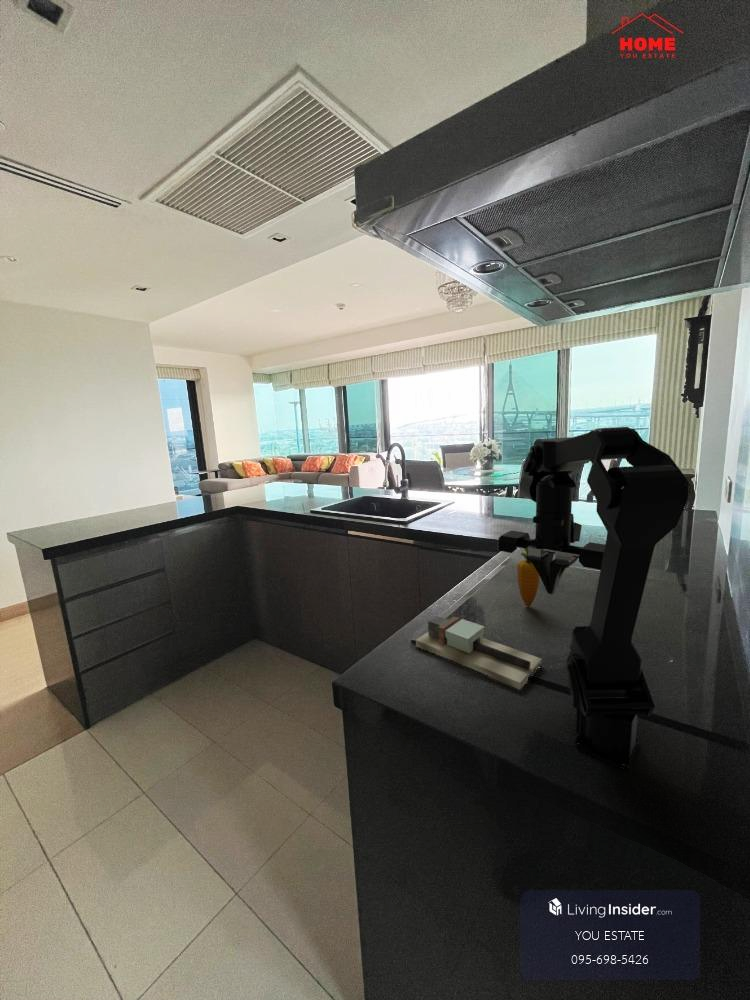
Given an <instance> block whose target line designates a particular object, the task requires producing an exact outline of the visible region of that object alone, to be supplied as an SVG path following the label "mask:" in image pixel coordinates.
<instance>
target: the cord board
mask: <svg viewBox="0 0 750 1000" xmlns="http://www.w3.org/2000/svg"><path fill="white" fill-rule="evenodd" d="M459 621H460V618H459V617H457V616H452V617H450V618H449V619H447V618H443V617H440V616H438V615H435V616H433V617H432V618H430V619H428V620H427V627H428V628H427V629H428V631H427V632H426V633H424V634H423V635H421V636H419V637H418V638H417V639H415V647H416V648H418V647H419V648H418V649H420V648H421V650H423V649H424V650H423V651H425V650H427V651H429V652H428V653H430V652H432V653H435V654H437V655H440V656H443V657H445V658H448V659H450V660H453V661H455V662H457V663H459V664H462V665H463V666H466V667H469V668H472V669H474V670H476V671H479V672H481V673H483V674H485V675H488V676H489V677H492V678H494V679H497V680H499V681H501V682H504V683H507V684H509V685H512V686H513V687H515V688H517V689H521V688H522V687H523V686H524V685H525V684H526V685H527V683H528V682H529V681H528V677H529V674H530V673H531V672H533V670H534V669H535V668H537V666H538V665H539V664H541V662H542V663H543V658H541V657H539V656H538V657H537V656H536V655H532V654H530V653H527V652H524V651H521V650H518V649H515V648H512V647H510V646H507V645H504V644H501V643H499V642H496V641H493V640H491V639H487V638H485V637H483V643H482V644H481V643H478V642H475V641H474V642H473V651H472V652H471V653H467V652H464V651H462V650H459V649H457V648H454V647H452V646H449V645H447V638H446V633H445V631H446V630H447V629H449V628H450V627H451V626H453V625H454V624H456V623H457V622H459ZM427 651H426V652H427ZM432 653H431V654H432ZM437 655H436V656H437ZM463 666H462V667H463ZM489 677H488V678H489ZM527 681H528V682H527ZM524 687H525V686H524ZM524 687H523V688H524ZM515 688H514V689H515ZM523 688H522V689H523ZM517 689H516V690H517ZM522 689H521V690H522Z"/></svg>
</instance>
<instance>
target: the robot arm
mask: <svg viewBox="0 0 750 1000" xmlns="http://www.w3.org/2000/svg"><path fill="white" fill-rule="evenodd" d="M624 459H625V460H626V462H627V464H629V465H630V466H615V467H613V466H612V467H610V468H609V469H608V470H607V468H606V466H605V465H604V463H603V461H605V460H607V461H608V460H624ZM588 462H590V463H591V466H590V469H589V472H588V475H587V479H586V483H587V485H588V486H589V488H590V490H591V492H592V495H593V496H594V498H595V500H596V509H595V510H596V513H597V515H598V517H599V518H600V520H601V522H602V525H603V526H604V527H605V529H606V531H607V532H606V533H607V534H606V539H605V544H604V543H598V542H590V541H589V542H587V543H586V544H585V545H584V546H578V545H571V544H574V543H576V542H580V540H581V539H580V538H581V533H582V532H581V531H582V526H583V525H582V524H580V523H578V522H575V520H574V518H575V517H574V513H572V505H573V503H572V502H573V488H576V487H577V485H576V482H575V480H574V479H572V477H571V476H570V475H571V474H572V473H573V472H574V471H575V470H578V469H580V468H582V466H583V463H588ZM522 469H523V476H522V478H521V479H520V482H519V490H520V492H521V493H522V495H523V496H524V497H526V498H528V499H529V500H531V501H532V502H534V503H536V504H535V516H533V517H532V523H533V524H535V537H534V538H533V539H532V538H531V536H530V534H529V533H528V532H524V531H518V530H510V531H507V532H505V533H504V534H502V535H500V536H499V537H498V538H497V541H496V542H497V544H496V545H497V547H496V549H497V551H498V552H505V553H509V554H512V553H513V552H515V551H516V550H517V549H518V548H520V549H524V548H525V549H529V553H528V556H527V557H526V559H527V560H528V561H531V562H532V564H533V565H534V567H535V569H536V570H537V572H538V574H539V579H540V580H541V582H542V584H543V586H544V588H545V590H546V592H547V593H546V594H548V595H553V594H555V593H556V589H557V588H558V585H559V583H560V581H561V577H562V576H563V574H564V572H565V570H566V569H567V568H569V567H570V566H573V564H575V563H576V562H577V561H578V563H580V565H581V566H582V567H583V568H589V569H592V570H598V571H600V572H599V575H598V576H599V577H598V582H597V586H596V592H595V597H594V602H593V603H594V604H593V608H592V614H591V618H590V625H585V626H583V625H582V626H580V625H579V626H575V627H574V628H573V630H572V636H571V642H570V645H569V650H570V652H569V655H568V656H567V660H566V674H567V679H568V689H569V692H570V696H571V701H570V703H571V706H572V707H573V708H575V725H574V727H575V728H574V731H575V734H576V735H577V737H576V738H575V740H574V746H575V745H576V746H577V747H578V749H579V748H580V750H581V749H582V751H583V750H584V751H583V752H586V753H588V754H590V755H592V754H593V755H592V756H594V755H596V756H598V757H600V758H602V759H604V760H603V761H605V760H606V761H605V762H607V761H608V762H607V763H608V764H611V763H612V764H611V765H613V764H614V765H613V766H615V765H616V766H615V767H617V766H618V767H617V768H619V767H622V768H624V769H627V768H628V767H629V768H630V766H629V764H630V765H631V763H630V762H632V761H631V759H632V760H633V758H632V756H633V754H634V755H635V753H636V751H635V749H636V750H637V748H636V746H637V744H638V745H639V743H638V742H639V739H638V737H637V728H638V727H637V726H638V716H649V717H650V716H652V714H653V711H654V710H655V703H654V700H653V698H652V695H651V691H650V688H649V687H648V683H647V681H646V677H645V675H644V672H643V670H642V664H643V663H642V658H641V656H640V654H639V653H638V651H637V648H636V647H635V645H634V643H633V638H634V633H635V629H636V624H637V620H638V616H639V613H640V608H641V605H642V601H643V597H644V592H645V587H646V584H647V580H648V576H649V572H650V568H651V564H652V559H653V555H654V551H655V548H656V545H657V543H659V542H660V541H661V540H663V538H664V537H666V536H667V535H668V534H669V533H671V532H672V531H673V530H674V529H675V528H676V527H677V526H678V524H679V523H680V520H681V518H682V515H683V513H684V511H685V509H686V506H687V504H688V500H689V498H690V494H691V493H690V491H691V487H690V482H689V481H688V479H687V477H686V476H685V474H684V473H683V472H682V471H681V469H680V467H679V466H678V465H677V464H676V462H675V461H674V460H673V458H672V457H671V455H669V454H668V453H666V452H664V451H662V450H661V449H658V448H657V447H655V446H654V445H651V443H648V442H647V441H645V440H643V438H642V437H641V436H640V434H639V433H638V431H637V430H635V428H630V427H628V426H616V427H614V426H613V427H602V428H601V427H600V428H599V427H598V428H595V429H593V430H590V431H589V432H587V433H583V434H579V435H575V436H571V437H570V436H568V437H553V438H551V437H550V438H537V439H535V441H534V442H533V445H531V446H530V449H529V451H528V454H527V456H526V458H525V461H524V463H523V466H522ZM525 549H524V550H525ZM554 557H555V558H554ZM526 559H525V560H526ZM577 743H579V744H577ZM635 743H636V744H635ZM576 746H575V747H576ZM577 747H576V748H577ZM637 747H638V746H637ZM634 752H635V753H634ZM596 756H595V757H596ZM598 757H597V758H598ZM633 757H634V756H633ZM600 758H599V759H600ZM602 759H601V760H602ZM622 764H625V765H626V766H624V765H622ZM629 768H628V769H629ZM624 769H623V770H624Z"/></svg>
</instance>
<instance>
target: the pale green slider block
mask: <svg viewBox="0 0 750 1000" xmlns="http://www.w3.org/2000/svg"><path fill="white" fill-rule="evenodd" d="M445 633H446V638H447V645H449V646H452V647H454V648H457V649H459V650H462V651H464V652H467V653H471V652H472V651H473V642H474V641H475V642H478V643H481V644H482V643H483V638H484V634H485V626H484V625H481V624H479V623H475V622H472V621H469V620H466V619H464V618H461V619H459V622H457V623H456V624H454V625H453V626H451V627H450V628H449V629H447V630H446V631H445Z"/></svg>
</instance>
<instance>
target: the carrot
mask: <svg viewBox="0 0 750 1000" xmlns="http://www.w3.org/2000/svg"><path fill="white" fill-rule="evenodd" d="M523 549H524V551H525V552H520V555H521V556H523V558H524V559H523V560H521V561H520V562H519V563H518V564H517V566H516V567H517V584H518V590H519V594H520V597H521V600H522V601H523V603H524V605H525V606H526V607H527V606H529V607H531V606H532V604H533V602H534V601H535V598H536V596H537V593H538V588H539V584H540V576H539V574H538V572H537V570H536V569H535V567H534V565H533V564H532V562H531V561H528V560H527V559H526V557H527V556H528V553H529V549H525V548H523Z"/></svg>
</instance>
